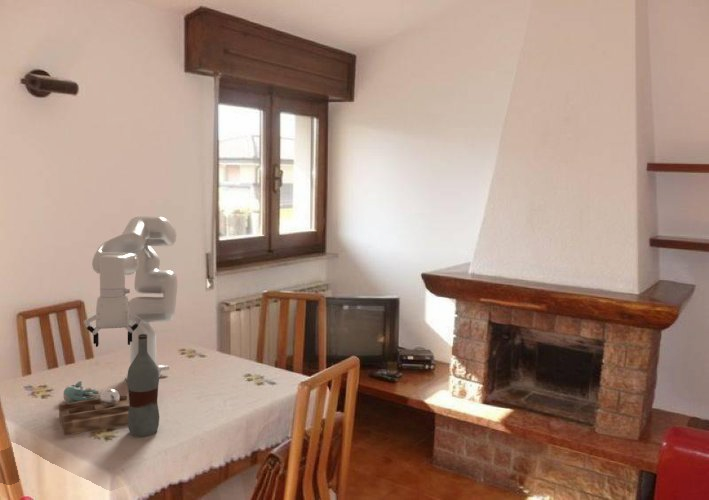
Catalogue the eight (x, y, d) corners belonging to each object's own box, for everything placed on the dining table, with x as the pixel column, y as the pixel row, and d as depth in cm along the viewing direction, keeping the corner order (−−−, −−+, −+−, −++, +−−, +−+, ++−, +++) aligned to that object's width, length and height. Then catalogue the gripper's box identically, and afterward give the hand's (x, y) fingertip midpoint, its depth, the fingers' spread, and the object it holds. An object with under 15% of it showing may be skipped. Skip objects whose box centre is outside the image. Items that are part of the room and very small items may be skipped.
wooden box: (124, 406, 200) (124, 391, 200) (134, 422, 187) (134, 407, 186) (59, 416, 190) (58, 401, 189) (64, 435, 176) (64, 419, 176)
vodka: (160, 435, 178) (159, 337, 175) (127, 439, 175) (126, 339, 171) (158, 423, 187) (158, 330, 183) (127, 427, 183) (126, 332, 180)
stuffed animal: (107, 383, 207) (75, 385, 197) (104, 403, 207) (71, 407, 197) (90, 376, 213) (58, 378, 204) (87, 396, 213) (54, 399, 203)
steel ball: (118, 402, 194) (117, 384, 194) (121, 408, 189) (121, 390, 188) (98, 405, 191) (98, 387, 190) (101, 411, 186) (101, 393, 185)
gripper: (140, 290, 199) (141, 340, 200) (84, 292, 193) (84, 343, 194) (141, 294, 192) (141, 346, 193) (82, 295, 186) (83, 349, 187)
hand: (113, 344), depth 194 cm, fingers open, 9 cm apart
